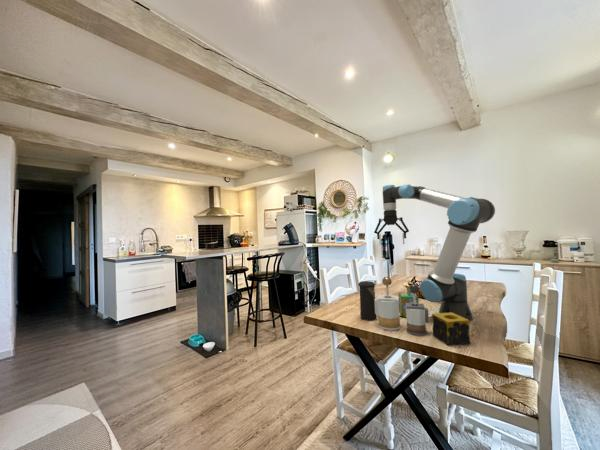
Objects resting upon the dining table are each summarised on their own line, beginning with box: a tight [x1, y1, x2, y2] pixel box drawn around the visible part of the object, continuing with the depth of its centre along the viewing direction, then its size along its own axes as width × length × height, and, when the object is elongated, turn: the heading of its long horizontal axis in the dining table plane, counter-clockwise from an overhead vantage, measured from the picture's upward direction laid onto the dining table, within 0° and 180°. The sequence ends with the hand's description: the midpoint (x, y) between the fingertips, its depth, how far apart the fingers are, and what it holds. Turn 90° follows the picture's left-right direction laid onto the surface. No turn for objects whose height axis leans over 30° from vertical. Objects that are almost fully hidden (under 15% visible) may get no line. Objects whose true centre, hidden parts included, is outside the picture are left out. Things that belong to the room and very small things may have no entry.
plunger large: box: [381, 276, 392, 302], centre depth 123 cm, size 4×4×18 cm
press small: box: [405, 303, 430, 337], centre depth 115 cm, size 10×8×12 cm
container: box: [357, 280, 378, 321], centre depth 136 cm, size 9×9×20 cm
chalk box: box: [397, 287, 420, 318], centre depth 137 cm, size 9×9×15 cm
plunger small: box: [408, 283, 420, 306], centre depth 115 cm, size 4×4×16 cm
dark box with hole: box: [431, 312, 471, 346], centre depth 106 cm, size 10×10×10 cm
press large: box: [374, 294, 402, 331], centre depth 123 cm, size 12×10×14 cm
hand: (391, 244), depth 153 cm, fingers open, 13 cm apart
